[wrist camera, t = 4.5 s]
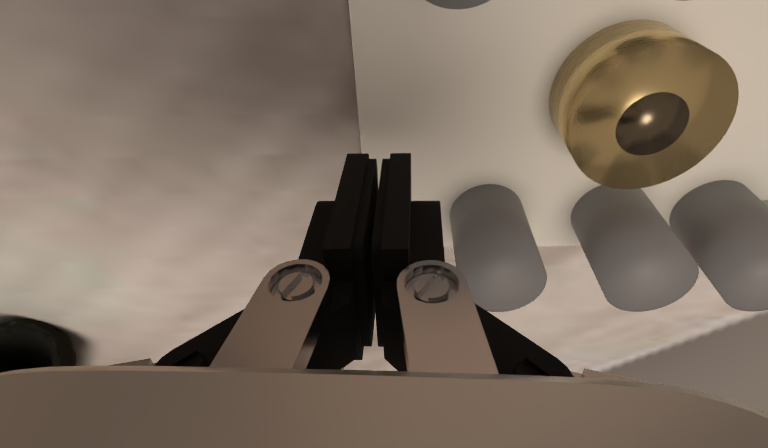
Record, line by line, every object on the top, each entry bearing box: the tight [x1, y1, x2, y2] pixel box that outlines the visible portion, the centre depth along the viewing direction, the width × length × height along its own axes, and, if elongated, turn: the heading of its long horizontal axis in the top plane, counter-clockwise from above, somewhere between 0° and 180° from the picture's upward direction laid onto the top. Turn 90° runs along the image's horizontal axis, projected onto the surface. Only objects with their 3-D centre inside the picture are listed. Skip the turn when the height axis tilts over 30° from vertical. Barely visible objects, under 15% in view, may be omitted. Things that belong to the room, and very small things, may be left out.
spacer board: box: [348, 0, 768, 312], centre depth 14 cm, size 14×20×5 cm
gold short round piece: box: [549, 19, 739, 189], centre depth 14 cm, size 5×5×3 cm
